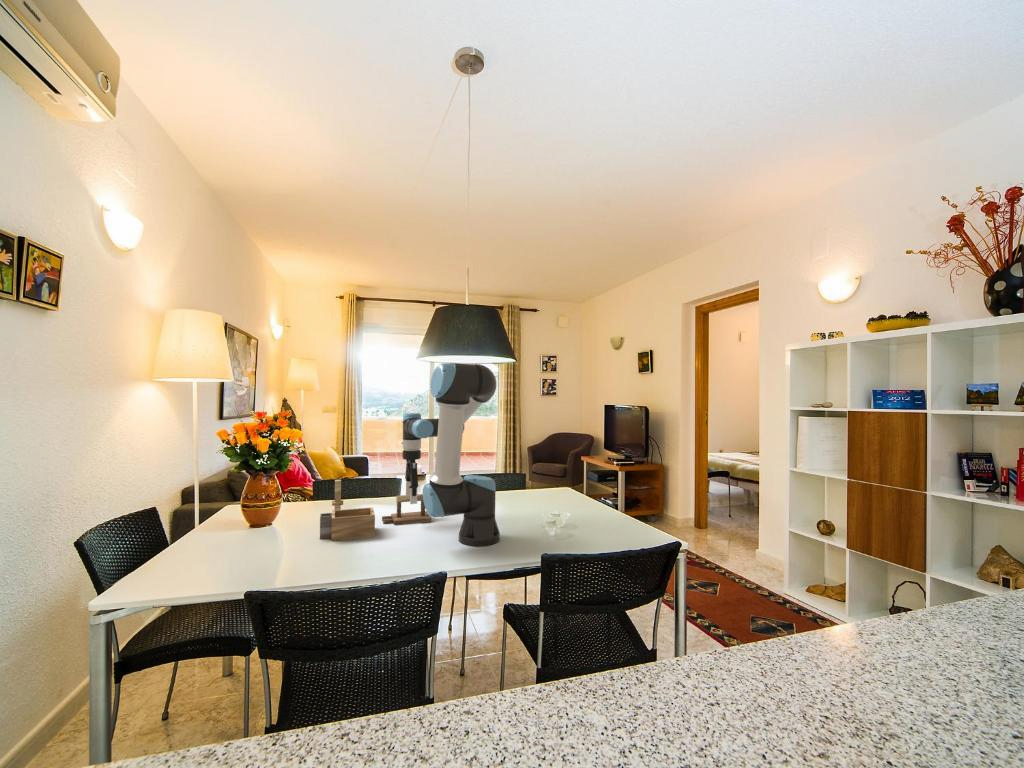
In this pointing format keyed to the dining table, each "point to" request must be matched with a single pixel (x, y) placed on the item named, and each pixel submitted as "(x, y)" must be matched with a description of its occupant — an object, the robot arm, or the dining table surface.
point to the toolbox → (347, 524)
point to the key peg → (337, 495)
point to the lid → (407, 517)
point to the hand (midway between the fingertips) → (411, 500)
